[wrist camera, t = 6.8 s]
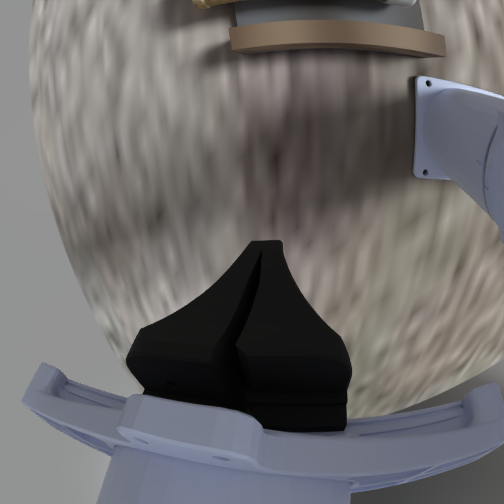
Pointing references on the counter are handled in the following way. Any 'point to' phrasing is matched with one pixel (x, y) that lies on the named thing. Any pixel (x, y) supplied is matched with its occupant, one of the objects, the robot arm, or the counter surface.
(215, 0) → the sprinkles bottle
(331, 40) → the cradle
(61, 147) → the counter surface
